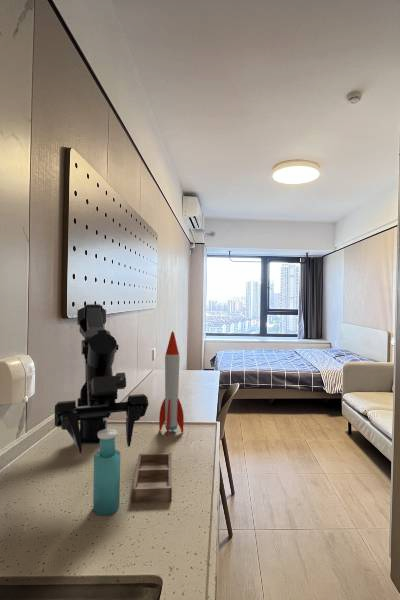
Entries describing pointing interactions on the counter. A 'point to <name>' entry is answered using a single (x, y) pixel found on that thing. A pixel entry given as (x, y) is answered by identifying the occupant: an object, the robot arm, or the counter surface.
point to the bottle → (106, 474)
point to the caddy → (153, 478)
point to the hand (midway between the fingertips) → (105, 449)
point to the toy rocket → (171, 390)
